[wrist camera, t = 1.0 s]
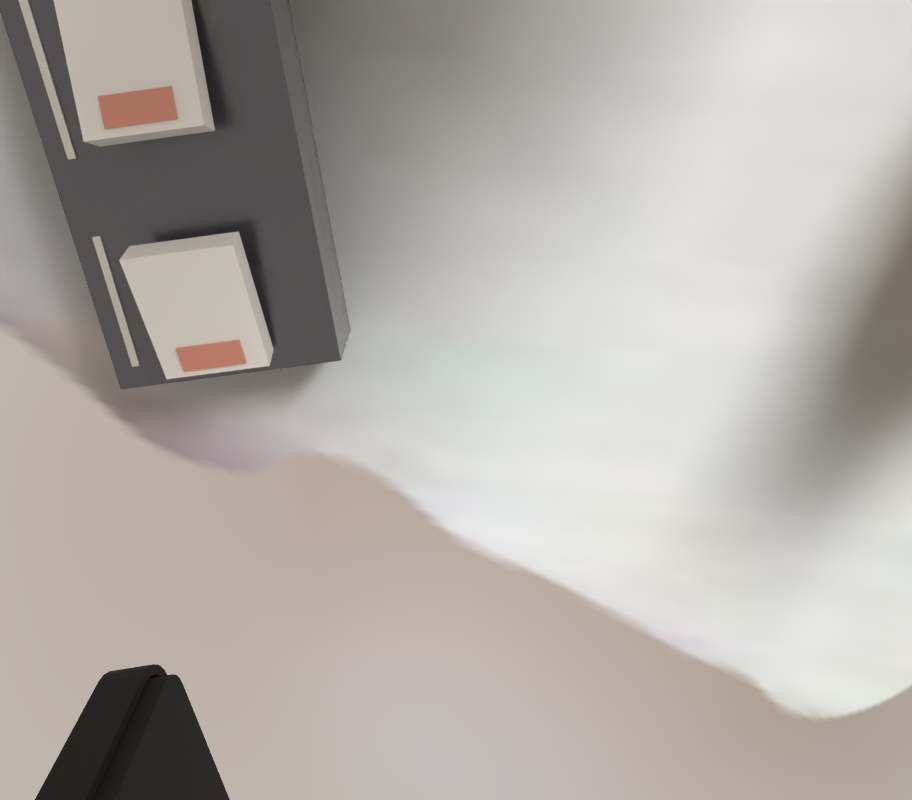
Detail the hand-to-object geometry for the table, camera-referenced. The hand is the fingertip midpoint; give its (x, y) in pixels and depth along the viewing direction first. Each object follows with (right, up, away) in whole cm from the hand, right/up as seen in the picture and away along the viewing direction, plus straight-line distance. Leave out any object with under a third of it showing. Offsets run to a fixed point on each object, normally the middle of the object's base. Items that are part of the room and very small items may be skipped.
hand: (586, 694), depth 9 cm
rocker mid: (-12, +15, +18) cm, 26 cm away
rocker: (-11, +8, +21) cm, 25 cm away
